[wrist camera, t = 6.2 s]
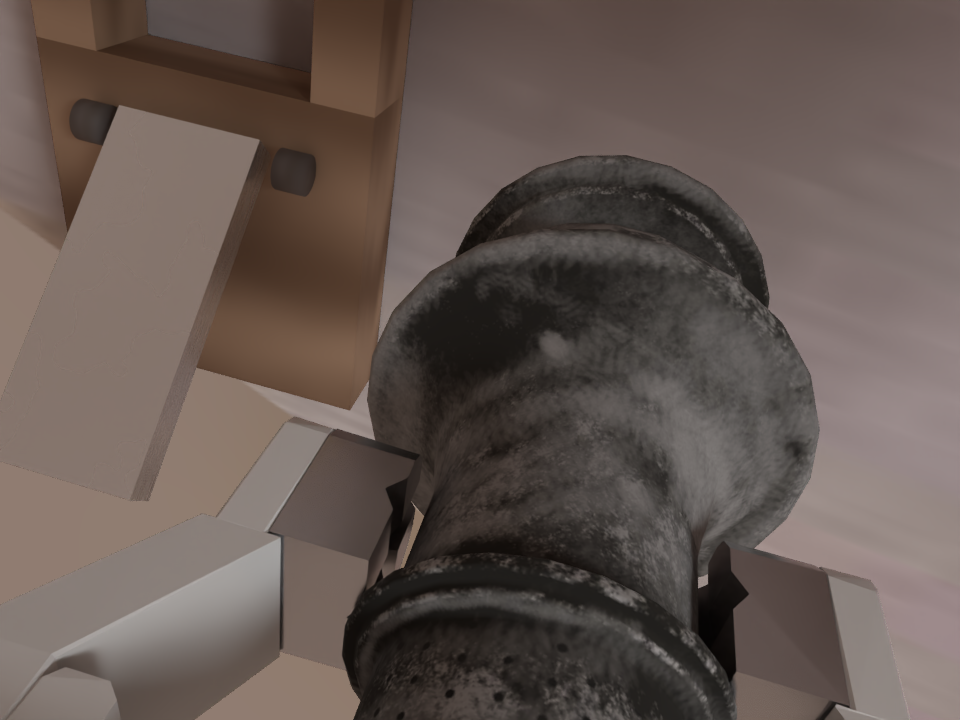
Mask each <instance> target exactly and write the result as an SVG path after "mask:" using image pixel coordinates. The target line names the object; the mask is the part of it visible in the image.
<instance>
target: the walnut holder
mask: <svg viewBox="0 0 960 720" xmlns="http://www.w3.org/2000/svg"><path fill="white" fill-rule="evenodd" d="M412 5H413V0H314V14H313V42H312V69H311V73H308V72H304V71H300V70H295V69H291V68H287V67H283V66H279V65H274V64H270V63H266V62H262V61H257V60H253V59H249V58H245V57H241V56H236V55H232V54H228V53H224V52H220V51H215V50H211V49H207V48H203V47H198V46H194V45H190V44H186V43H182V42H177V41H173V40H169V39H165V38H160V37H156V36H152V35H148V27H147V15H146V2H145V0H31V6H32V12H33V18H34V25H35V31H36V37H37V43H38V50H39V56H40V62H41V69H42V75H43V81H44V87H45V94H46V100H47V106H48V113H49V119H50V125H51V131H52V138H53V144H54V150H55V157H56V163H57V169H58V175H59V182H60V188H61V194H62V201H63V207H64V213H65V219H66V226H67V232H68V231H69V229H70V226H71V224H72V221H73V219H74V216H75V214H76V211H77V209H78V206H79V204H80V201H81V199H82V196H83V194H84V191H85V189H86V186H87V184H88V181H89V179H90V176H91V174H92V171H93V169H94V166H95V164H96V161H97V159H98V156H99V154H100V151H101V149H102V146H103V144H104V141H105V139H106V136H107V134H108V131H109V129H110V127H111V124H112V122H113V119H114V117H115V114H116V112H117V109H118V107H119V105H121V106H125V107H129V108H133V109H137V110H141V111H145V112H149V113H153V114H158V115H162V116H166V117H170V118H174V119H178V120H182V121H186V122H190V123H194V124H198V125H202V126H206V127H210V128H214V129H218V130H222V131H226V132H230V133H234V134H238V135H242V136H246V137H250V138H255V139H259V140H260V141H261V142H262V144H263V145H264V147H265V148H266V150H267V151H268V152H269V154H270V155H271V159H270V162H269V165H268V168H267V170H266V173H265V176H264V179H263V182H262V184H261V187H260V190H259V193H258V196H257V198H256V201H255V204H254V207H253V210H252V212H251V215H250V218H249V221H248V224H247V226H246V229H245V232H244V235H243V238H242V240H241V243H240V246H239V249H238V252H237V254H236V257H235V260H234V263H233V266H232V268H231V271H230V274H229V277H228V280H227V282H226V285H225V288H224V291H223V294H222V296H221V299H220V302H219V305H218V308H217V311H216V313H215V316H214V319H213V322H212V325H211V327H210V330H209V333H208V336H207V339H206V341H205V344H204V347H203V350H202V353H201V355H200V358H199V361H198V364H197V368H200V369H204V370H207V371H211V372H215V373H218V374H222V375H225V376H229V377H232V378H236V379H239V380H243V381H247V382H250V383H254V384H257V385H261V386H264V387H268V388H272V389H275V390H279V391H282V392H286V393H289V394H293V395H297V396H300V397H304V398H307V399H311V400H314V401H318V402H322V403H325V404H329V405H332V406H336V407H339V408H343V409H347V410H350V409H351V408H352V406H353V405H354V403H355V401H356V400H357V398H358V397H359V395H360V393H361V392H362V390H363V389H364V387H365V385H366V384H367V382H368V380H369V379H370V370H371V361H372V355H373V353H374V350H375V348H376V346H377V341H378V331H379V322H380V312H381V302H382V293H383V283H384V274H385V264H386V254H387V245H388V235H389V226H390V216H391V206H392V197H393V187H394V178H395V168H396V158H397V149H398V139H399V130H400V120H401V110H402V101H403V91H404V82H405V72H406V62H407V53H408V43H409V34H410V24H411V14H412Z"/></svg>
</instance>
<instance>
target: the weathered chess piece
mask: <svg viewBox="0 0 960 720" xmlns="http://www.w3.org/2000/svg"><path fill="white" fill-rule="evenodd" d="M768 305H769V292H768V287H767V282H766V276H765V271H764V265H763V260H762V255H761V253H760V252H759V250H758V248H757V246H756V244H755V242H754V240H753V239H752V237H751V235H750V233H749V231H748V229H747V227H746V226H745V224H744V222H743V220H742V219H741V218H740V217H739V216H738V215H737V214H736V213H735V212H734V211H733V210H732V209H731V208H730V207H729V206H728V205H727V204H726V203H725V202H724V201H723V200H722V199H721V198H720V197H719V196H718V195H717V194H716V193H715V192H714V191H713V190H712V189H711V188H709V187H707V186H706V185H704V184H702V183H700V182H698V181H696V180H695V179H693V178H691V177H689V176H687V175H686V174H684V173H682V172H680V171H678V170H677V169H675V168H673V167H671V166H667V165H663V164H659V163H655V162H651V161H647V160H643V159H639V158H635V157H631V156H627V155H617V156H578V157H575V158H571V159H567V160H564V161H560V162H557V163H553V164H549V165H546V166H542V167H538V168H536V169H535V170H533V171H531V172H530V173H528V174H526V175H525V176H523V177H521V178H519V179H518V180H516V181H514V182H513V183H511V184H509V185H508V186H506V187H504V188H503V189H501V190H500V191H499V192H498V193H497V195H496V196H495V197H494V198H493V199H492V200H491V201H490V202H489V203H488V204H487V205H486V206H485V207H484V208H483V209H482V210H481V211H480V213H479V214H478V215H477V216H476V217H475V218H474V220H473V222H472V224H471V226H470V228H469V230H468V231H467V233H466V235H465V237H464V239H463V241H462V243H461V245H460V247H459V249H458V251H457V253H456V258H454V259H452V260H450V261H448V262H447V263H445V264H443V265H441V266H440V267H438V268H436V269H434V270H432V271H431V272H429V273H428V274H427V276H426V277H425V278H424V279H423V280H422V281H421V282H420V283H419V284H418V285H417V286H416V287H415V288H414V289H413V290H412V291H411V292H410V293H409V294H408V295H407V297H406V298H405V299H404V300H403V301H402V302H401V303H400V304H399V305H398V306H397V307H396V308H395V309H394V311H393V312H392V314H391V316H390V318H389V320H388V323H387V325H386V327H385V329H384V331H383V333H382V335H381V338H380V340H379V342H378V344H377V346H376V348H375V350H374V353H373V355H372V361H371V370H370V379H369V388H368V397H367V402H368V407H369V412H370V417H371V421H372V426H373V431H374V436H375V441H378V442H381V443H385V444H388V445H391V446H394V447H397V448H401V449H404V450H407V451H410V452H414V453H417V454H420V455H421V457H422V466H421V475H420V481H419V484H418V486H417V488H416V491H415V493H414V495H413V498H412V500H411V501H412V503H413V504H414V505H415V506H416V507H417V508H418V510H419V511H420V512H421V513H422V514H423V515H424V519H423V521H422V524H421V526H420V529H419V531H418V534H417V536H416V539H415V541H414V544H413V546H412V549H411V551H410V554H409V556H408V559H407V561H406V564H405V567H404V568H401V569H398V570H395V571H393V572H392V573H390V574H389V575H388V576H386V577H385V578H383V579H382V580H380V581H379V582H378V583H376V584H375V585H373V586H372V587H370V588H369V589H368V590H366V591H365V592H364V594H363V595H362V597H361V598H360V600H359V602H358V603H357V605H356V606H355V608H354V610H353V611H352V613H351V614H350V616H349V618H348V620H347V622H346V624H345V629H344V638H343V648H342V658H343V661H344V664H345V668H346V671H347V674H348V677H349V681H350V684H351V686H352V688H353V690H354V692H355V693H356V694H357V696H358V698H359V699H360V704H359V706H358V709H357V712H356V714H355V717H354V719H353V720H737V706H736V703H735V700H734V697H733V693H732V690H731V687H730V684H729V681H728V677H727V674H726V671H725V670H724V669H723V667H722V666H721V665H720V663H719V662H718V661H717V659H716V658H715V657H714V655H713V654H712V653H711V651H710V650H709V649H708V648H707V646H706V645H705V644H704V642H703V641H702V640H701V638H700V637H699V634H698V577H701V576H704V575H706V574H708V563H709V561H710V559H711V557H712V555H713V553H714V552H715V550H716V548H717V547H718V546H719V545H720V544H721V543H722V542H723V541H728V542H731V543H735V544H738V545H742V546H746V547H749V548H753V549H754V548H755V547H756V546H757V545H758V544H759V543H760V542H762V541H763V540H764V539H765V538H766V537H767V536H768V535H769V534H770V533H772V532H773V531H774V530H775V529H776V528H777V527H778V526H779V525H780V524H782V523H783V522H784V521H785V520H786V519H787V517H788V515H789V514H790V512H791V510H792V509H793V507H794V505H795V503H796V502H797V500H798V498H799V497H800V495H801V493H802V492H803V490H804V488H805V487H806V485H807V483H808V481H809V480H810V478H811V473H812V468H813V462H814V457H815V452H816V447H817V442H818V436H819V431H820V429H819V423H818V417H817V411H816V405H815V399H814V393H813V387H812V381H811V376H810V373H809V371H808V369H807V367H806V365H805V364H804V362H803V360H802V358H801V356H800V354H799V353H798V351H797V349H796V347H795V345H794V344H793V342H792V340H791V338H790V336H789V334H788V333H787V331H786V329H785V327H784V325H783V323H782V322H781V321H780V320H778V319H777V318H776V317H775V316H774V315H773V314H772V313H771V312H770V311H769V310H768Z"/></svg>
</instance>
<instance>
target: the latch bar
mask: <svg viewBox="0 0 960 720" xmlns="http://www.w3.org/2000/svg"><path fill="white" fill-rule="evenodd" d="M270 159H271V155H270V154H269V152H268V151H267V150H266V148H265V147H264V145H263V144H262V142H261V141H260V140H259V139H255V138H250V137H246V136H242V135H238V134H234V133H230V132H226V131H222V130H218V129H214V128H210V127H206V126H202V125H198V124H194V123H190V122H186V121H182V120H178V119H174V118H170V117H166V116H162V115H158V114H153V113H149V112H145V111H141V110H137V109H133V108H129V107H125V106H121V105H119V107H118V109H117V112H116V114H115V117H114V119H113V122H112V124H111V127H110V129H109V131H108V134H107V136H106V139H105V141H104V144H103V146H102V149H101V151H100V154H99V156H98V159H97V161H96V164H95V166H94V169H93V171H92V174H91V176H90V179H89V181H88V184H87V186H86V189H85V191H84V194H83V196H82V199H81V201H80V204H79V206H78V209H77V211H76V214H75V216H74V219H73V221H72V224H71V226H70V229H69V231H68V234H67V236H66V239H65V241H64V244H63V246H62V249H61V251H60V253H59V256H58V259H57V261H56V263H55V266H54V269H53V271H52V273H51V276H50V278H49V281H48V284H47V286H46V288H45V291H44V294H43V296H42V298H41V301H40V303H39V306H38V308H37V311H36V313H35V316H34V318H33V321H32V323H31V326H30V328H29V331H28V333H27V336H26V338H25V341H24V343H23V346H22V348H21V351H20V353H19V356H18V358H17V361H16V363H15V366H14V368H13V371H12V373H11V375H10V378H9V380H8V383H7V386H6V388H5V391H4V393H3V395H2V398H1V400H0V462H4V463H7V464H10V465H14V466H17V467H20V468H23V469H27V470H30V471H33V472H37V473H40V474H43V475H47V476H50V477H53V478H57V479H60V480H63V481H67V482H70V483H73V484H77V485H80V486H83V487H86V488H90V489H93V490H96V491H100V492H103V493H107V494H110V495H113V496H116V497H120V498H123V499H127V500H131V501H132V500H133V501H149V498H150V496H151V492H152V490H153V487H154V484H155V481H156V479H157V476H158V473H159V470H160V467H161V465H162V462H163V459H164V456H165V453H166V450H167V448H168V445H169V442H170V439H171V437H172V434H173V431H174V428H175V425H176V423H177V420H178V417H179V414H180V411H181V409H182V406H183V403H184V400H185V397H186V395H187V392H188V389H189V386H190V383H191V381H192V378H193V375H194V372H195V369H196V367H197V364H198V361H199V358H200V355H201V353H202V350H203V347H204V344H205V341H206V339H207V336H208V333H209V330H210V327H211V325H212V322H213V319H214V316H215V313H216V311H217V308H218V305H219V302H220V299H221V296H222V294H223V291H224V288H225V285H226V282H227V280H228V277H229V274H230V271H231V268H232V266H233V263H234V260H235V257H236V254H237V252H238V249H239V246H240V243H241V240H242V238H243V235H244V232H245V229H246V226H247V224H248V221H249V218H250V215H251V212H252V210H253V207H254V204H255V201H256V198H257V196H258V193H259V190H260V187H261V184H262V182H263V179H264V176H265V173H266V170H267V168H268V165H269V162H270Z"/></svg>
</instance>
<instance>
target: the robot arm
mask: <svg viewBox="0 0 960 720" xmlns="http://www.w3.org/2000/svg"><path fill="white" fill-rule="evenodd" d="M421 466H422V457H421V455H420V454H417V453H414V452H410V451H407V450H404V449H401V448H397V447H394V446H391V445H388V444H385V443H381V442H378V441H375V440H372V439H369V438H365V437H362V436H359V435H356V434H352V433H349V432H346V431H343V430H340V429H332V428H329V427H326V426H323V425H320V424H317V423H314V422H310V421H307V420H304V419H301V418H298V417H293V418H292V419H290V420H289V421H287V422H285V423H284V424H283V425H282V426H281V428H280V429H279V430H278V432H277V433H276V434H275V436H274V437H273V439H272V440H271V441H270V443H269V444H268V446H267V447H266V448H265V450H264V451H263V452H262V454H261V455H260V457H259V458H258V459H257V461H256V462H255V464H254V465H253V466H252V467H251V469H250V470H249V472H248V473H247V474H246V476H245V477H244V478H243V480H242V481H241V483H240V484H239V485H238V487H237V488H236V490H235V491H234V492H233V494H232V495H231V496H230V498H229V499H228V500H227V502H226V503H225V505H224V506H223V507H222V509H221V510H220V512H219V513H218V514H217V516H216V517H213V516H210V515H206V514H200V515H197V516H195V517H193V518H191V519H189V520H186V521H184V522H182V523H180V524H177V525H175V526H173V527H171V528H169V529H166V530H164V531H162V532H160V533H158V534H155V535H153V536H151V537H149V538H146V539H144V540H142V541H140V542H138V543H135V544H133V545H131V546H129V547H127V548H125V549H122V550H120V551H118V552H115V553H113V554H111V555H109V556H107V557H104V558H102V559H100V560H98V561H96V562H93V563H91V564H89V565H87V566H84V567H82V568H80V569H78V570H76V571H74V572H71V573H69V574H67V575H65V576H62V577H60V578H58V579H56V580H54V581H51V582H49V583H47V584H45V585H42V586H40V587H38V588H36V589H33V590H32V591H29V592H27V593H25V594H22V595H20V596H18V597H16V598H14V599H11V600H9V601H7V602H5V603H2V604H0V720H195V719H196V718H198V717H199V716H200V715H202V714H203V713H204V712H205V711H207V710H208V709H210V708H211V707H212V706H214V705H215V704H216V703H218V702H219V701H220V700H222V699H223V698H224V697H226V696H227V695H229V694H230V693H231V692H232V691H234V690H235V689H237V688H238V687H239V686H241V685H242V684H243V683H245V682H246V681H247V680H249V679H250V678H251V677H253V676H254V675H256V674H257V673H258V672H260V671H261V670H262V669H264V668H265V667H266V666H268V665H269V664H270V663H272V662H273V661H274V660H276V659H277V658H278V657H279V655H280V653H279V652H283V653H287V654H290V655H294V656H297V657H301V658H304V659H308V660H311V661H315V662H318V663H322V664H326V665H328V666H333V667H335V668H339V669H342V670H346V668H345V664H344V661H343V658H342V648H343V638H344V629H345V624H346V622H347V620H348V618H349V616H350V614H351V613H352V611H353V610H354V608H355V606H356V605H357V603H358V602H359V600H360V598H361V597H362V595H363V594H364V592H365V591H366V590H368V589H369V588H370V587H372V586H373V585H375V584H376V583H378V582H379V581H380V580H382V579H383V578H385V577H386V576H388V575H389V574H390V573H392V572H393V571H395V570H398V569H400V567H401V564H402V561H403V558H404V555H405V552H406V548H407V546H408V542H409V538H410V534H411V530H412V525H413V520H414V514H415V507H414V506H413V504H412V502H411V500H412V498H413V495H414V493H415V491H416V488H417V486H418V484H419V481H420V475H421ZM698 634H699V637H700V638H701V640H702V641H703V642H704V644H705V645H706V646H707V648H708V649H709V650H710V651H711V653H712V654H713V655H714V657H715V658H716V659H717V661H718V662H719V663H720V665H721V666H722V667H723V669H724V670H725V671H726V674H727V677H728V681H729V684H730V687H731V690H732V693H733V697H734V700H735V703H736V706H737V720H911V719H910V715H909V711H908V707H907V703H906V699H905V695H904V691H903V687H902V684H901V680H900V676H899V672H898V668H897V664H896V660H895V656H894V652H893V648H892V644H891V640H890V636H889V632H888V629H887V625H886V621H885V617H884V613H883V609H882V605H881V601H880V597H879V593H878V589H877V588H876V587H875V586H874V584H873V583H872V582H871V580H868V579H864V578H860V577H857V576H853V575H849V574H846V573H842V572H838V571H834V570H831V569H827V568H823V567H819V568H818V567H816V566H815V565H811V564H807V563H804V562H800V561H797V560H793V559H789V558H786V557H782V556H778V555H775V554H771V553H767V552H764V551H760V550H757V549H753V548H749V547H746V546H742V545H738V544H735V543H731V542H728V541H723V542H722V543H721V544H720V545H719V546H718V547H717V548H716V550H715V552H714V553H713V555H712V557H711V559H710V561H709V563H708V585H706V586H703V587H701V588H699V589H698Z"/></svg>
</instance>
